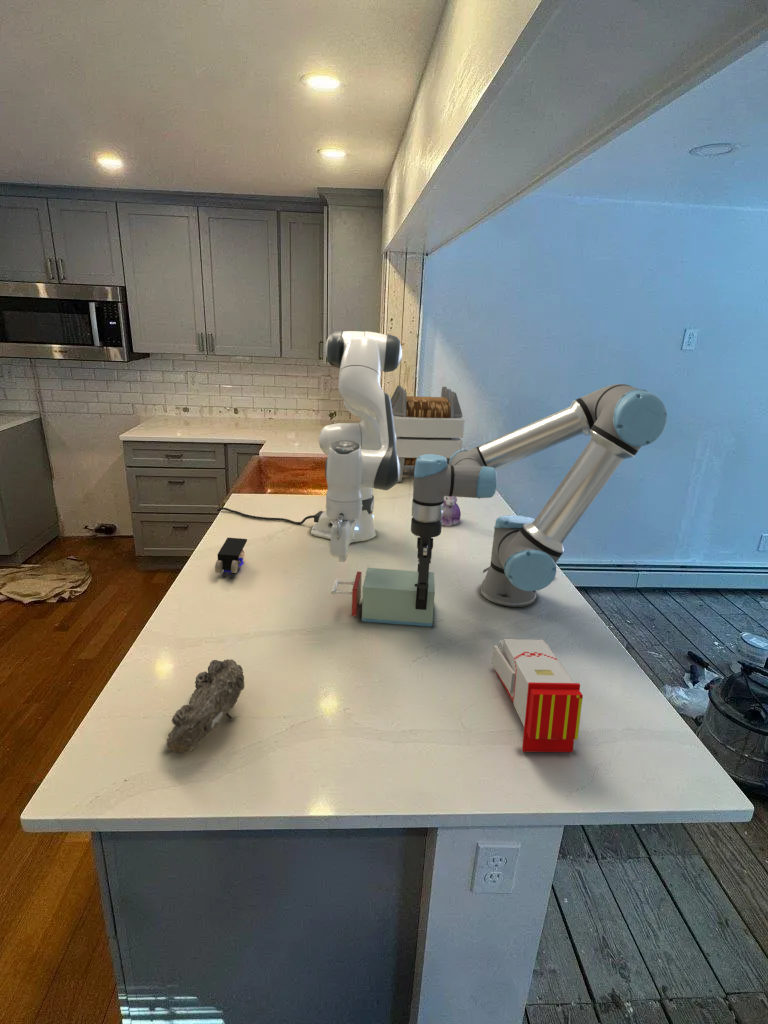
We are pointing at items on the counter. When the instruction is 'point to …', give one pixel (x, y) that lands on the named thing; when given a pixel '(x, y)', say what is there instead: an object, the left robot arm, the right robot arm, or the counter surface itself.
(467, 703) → the counter surface
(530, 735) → the toy
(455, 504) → the figurine
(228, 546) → the figurine character
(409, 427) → the transformer
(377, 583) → the cabinet
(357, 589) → the drawer
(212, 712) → the fossil
